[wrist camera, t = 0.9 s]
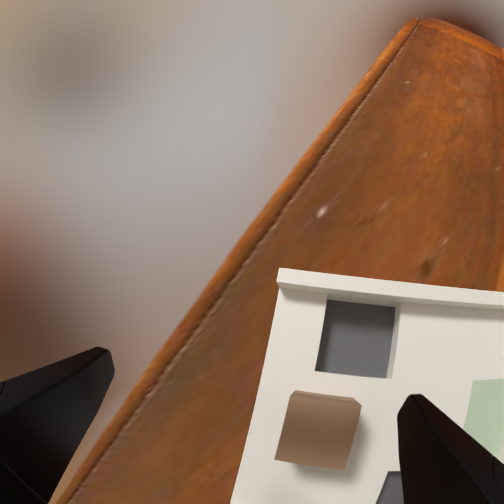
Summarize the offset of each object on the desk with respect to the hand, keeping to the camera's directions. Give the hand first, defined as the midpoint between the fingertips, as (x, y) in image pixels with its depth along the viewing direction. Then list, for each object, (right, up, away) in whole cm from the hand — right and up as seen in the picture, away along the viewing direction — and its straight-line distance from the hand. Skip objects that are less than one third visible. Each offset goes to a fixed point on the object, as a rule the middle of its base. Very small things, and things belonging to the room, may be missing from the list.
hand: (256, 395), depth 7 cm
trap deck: (+11, -9, +9) cm, 17 cm away
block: (+4, -7, +9) cm, 13 cm away
